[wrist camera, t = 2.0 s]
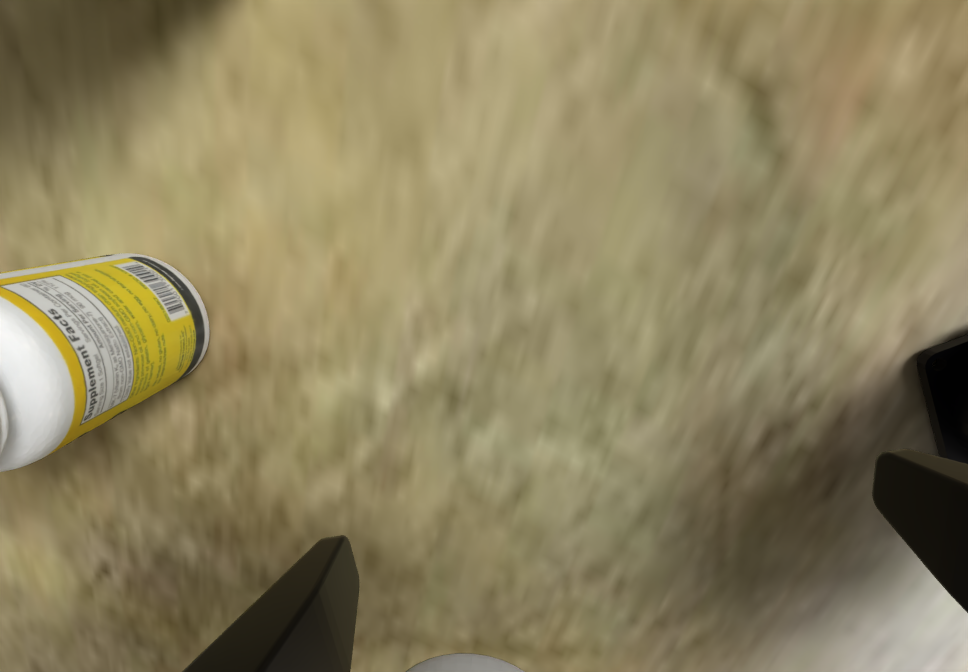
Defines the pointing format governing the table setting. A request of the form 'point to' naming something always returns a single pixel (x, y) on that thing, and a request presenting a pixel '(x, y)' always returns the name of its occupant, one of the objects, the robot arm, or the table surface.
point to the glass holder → (464, 664)
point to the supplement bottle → (89, 346)
